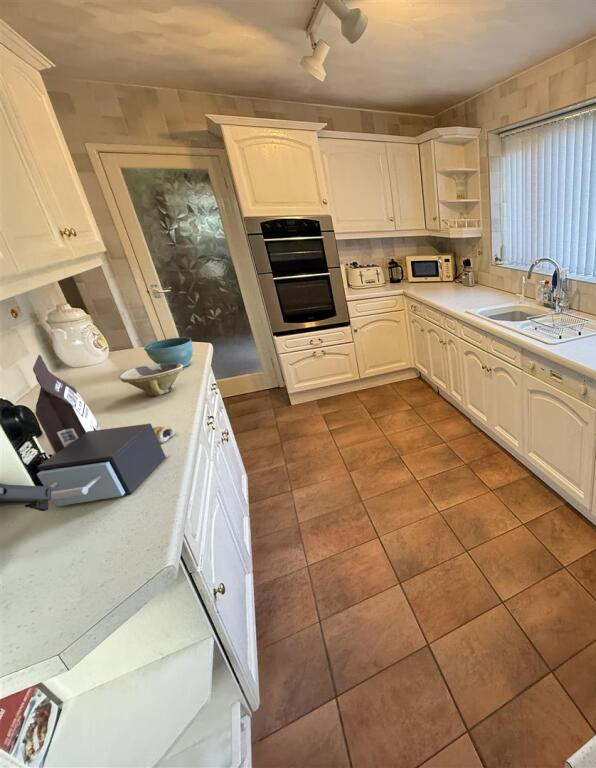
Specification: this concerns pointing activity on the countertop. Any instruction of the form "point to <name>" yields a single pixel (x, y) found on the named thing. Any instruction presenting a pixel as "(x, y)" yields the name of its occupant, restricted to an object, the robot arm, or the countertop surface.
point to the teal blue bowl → (171, 351)
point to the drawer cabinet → (114, 453)
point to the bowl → (153, 377)
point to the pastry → (163, 433)
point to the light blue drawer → (82, 482)
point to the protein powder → (61, 409)
